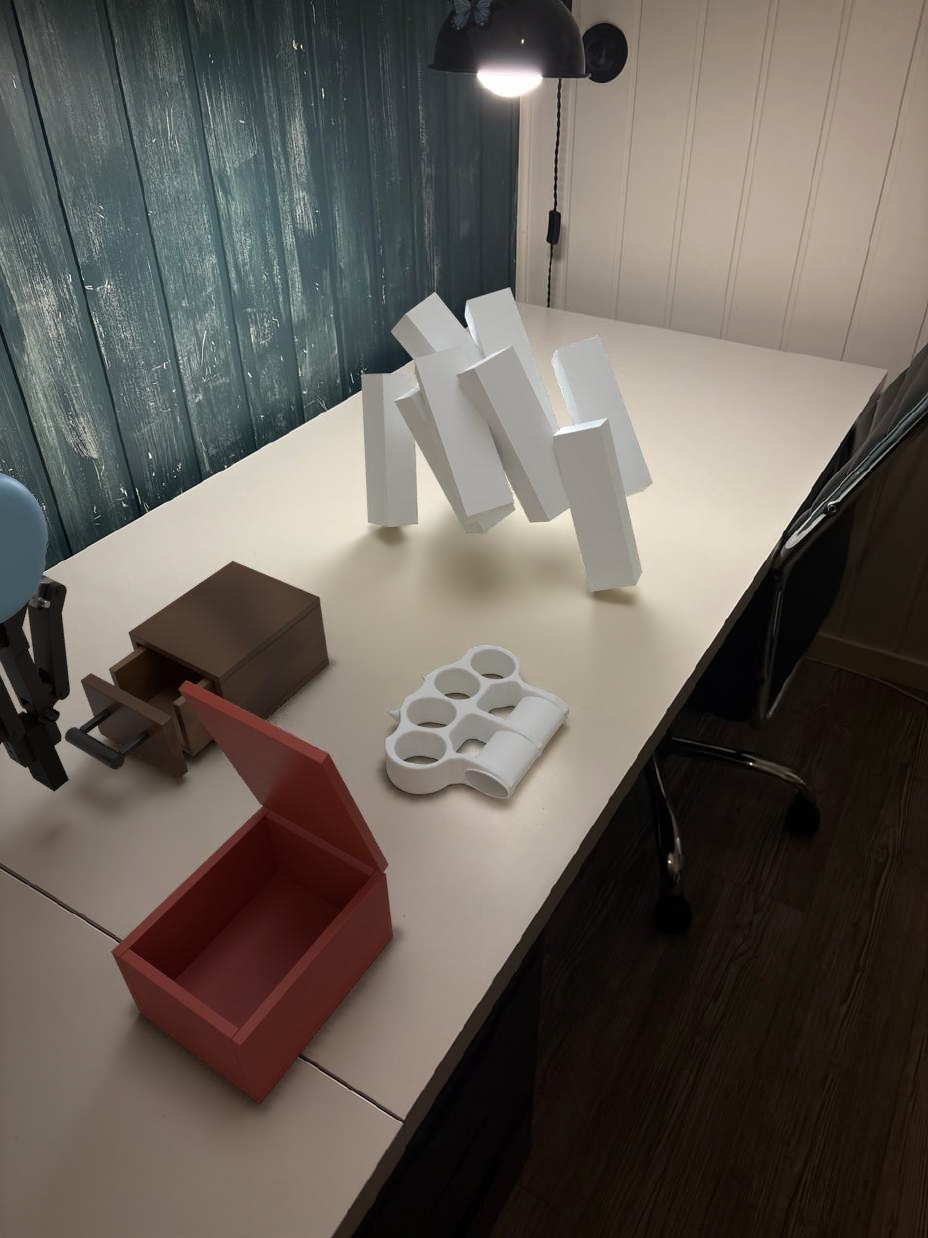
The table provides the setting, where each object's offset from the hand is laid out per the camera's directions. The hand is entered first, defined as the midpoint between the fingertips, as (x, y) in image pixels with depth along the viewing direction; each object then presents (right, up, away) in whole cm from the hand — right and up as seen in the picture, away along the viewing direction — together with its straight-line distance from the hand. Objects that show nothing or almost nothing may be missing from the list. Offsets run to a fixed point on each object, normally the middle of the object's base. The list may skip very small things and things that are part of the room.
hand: (51, 778), depth 75 cm
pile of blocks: (+38, +24, +38) cm, 59 cm away
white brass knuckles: (+34, +2, +11) cm, 36 cm away
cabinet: (+11, +7, +17) cm, 21 cm away
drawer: (+7, +3, +11) cm, 13 cm away
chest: (+20, -13, -8) cm, 25 cm away
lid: (+22, +2, -15) cm, 27 cm away
